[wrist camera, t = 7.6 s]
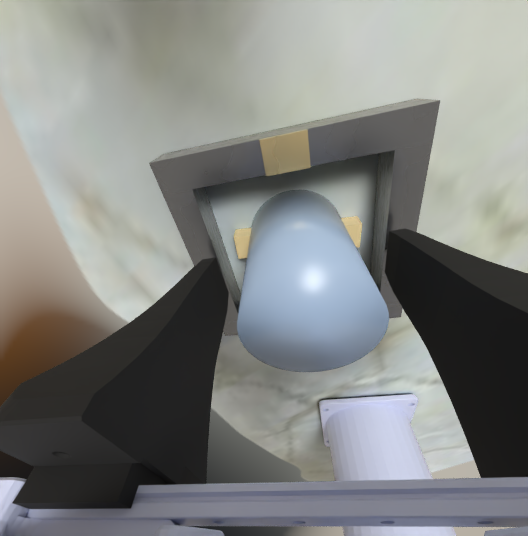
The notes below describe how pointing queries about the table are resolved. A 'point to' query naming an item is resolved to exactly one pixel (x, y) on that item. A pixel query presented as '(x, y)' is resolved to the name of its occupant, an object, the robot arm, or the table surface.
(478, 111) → the table surface
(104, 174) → the table surface
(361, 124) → the collar
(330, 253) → the blue-grey rounded tapered piece
